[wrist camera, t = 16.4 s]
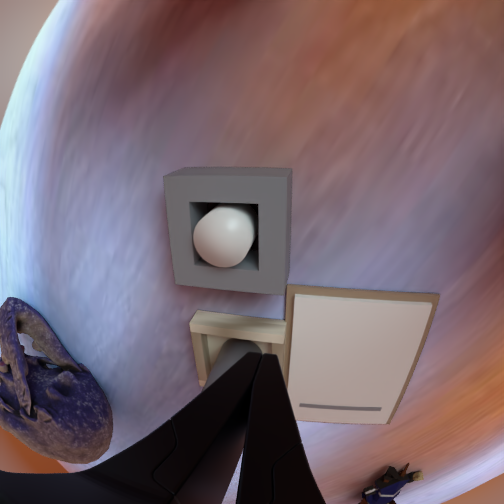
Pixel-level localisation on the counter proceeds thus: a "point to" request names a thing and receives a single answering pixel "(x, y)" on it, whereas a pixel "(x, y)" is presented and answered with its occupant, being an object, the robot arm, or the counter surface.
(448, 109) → the counter surface
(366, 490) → the toy
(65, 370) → the decorative skull
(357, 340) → the white flat rectangular panel
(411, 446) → the counter surface
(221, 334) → the holder tray
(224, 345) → the marker
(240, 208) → the button
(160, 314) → the counter surface
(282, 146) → the counter surface
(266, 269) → the button housing
